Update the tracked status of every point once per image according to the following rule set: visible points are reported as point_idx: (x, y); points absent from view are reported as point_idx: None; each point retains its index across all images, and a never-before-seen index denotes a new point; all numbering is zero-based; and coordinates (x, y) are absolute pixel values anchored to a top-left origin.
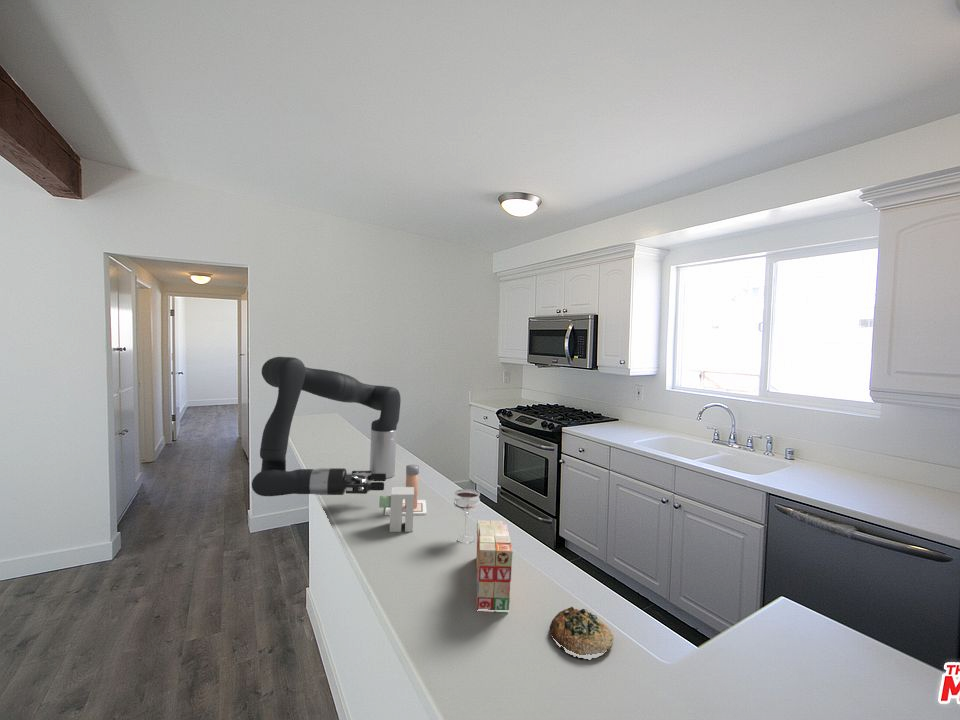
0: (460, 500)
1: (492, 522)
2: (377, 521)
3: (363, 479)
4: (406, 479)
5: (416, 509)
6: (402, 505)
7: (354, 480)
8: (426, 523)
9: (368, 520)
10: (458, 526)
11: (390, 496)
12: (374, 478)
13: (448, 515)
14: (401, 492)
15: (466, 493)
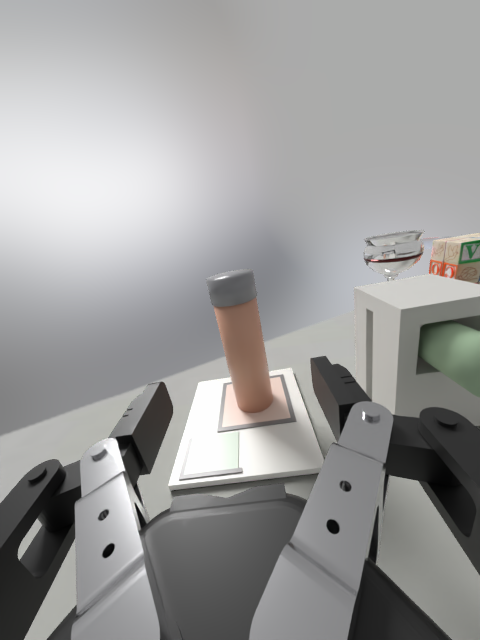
0: (420, 240)
1: (452, 239)
2: (411, 491)
3: (347, 451)
4: (245, 324)
5: (271, 386)
6: (240, 421)
7: (362, 624)
8: (346, 364)
9: (431, 547)
10: (337, 330)
11: (457, 325)
12: (146, 453)
13: (286, 346)
14: (443, 285)
15: (368, 248)
